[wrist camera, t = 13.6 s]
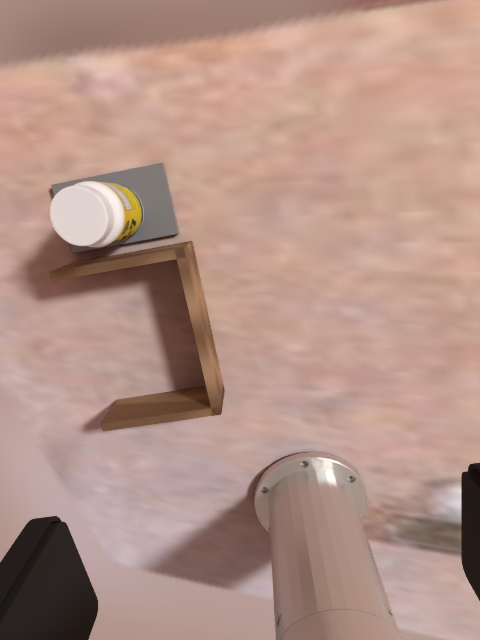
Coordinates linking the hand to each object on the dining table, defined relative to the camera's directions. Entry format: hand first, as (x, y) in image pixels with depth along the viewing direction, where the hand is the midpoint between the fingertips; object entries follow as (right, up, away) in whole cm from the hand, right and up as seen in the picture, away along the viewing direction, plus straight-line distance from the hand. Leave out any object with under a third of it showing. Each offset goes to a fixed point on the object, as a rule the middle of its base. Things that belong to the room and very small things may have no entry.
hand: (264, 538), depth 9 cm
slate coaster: (-12, +15, +25) cm, 32 cm away
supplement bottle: (-11, +15, +25) cm, 31 cm away
